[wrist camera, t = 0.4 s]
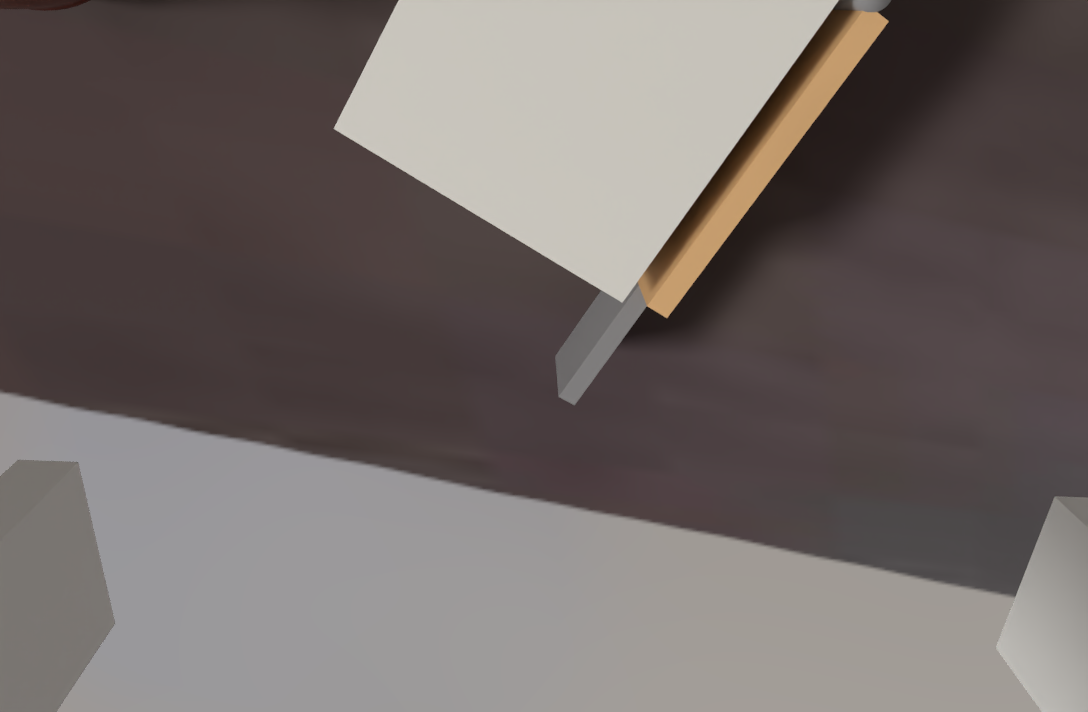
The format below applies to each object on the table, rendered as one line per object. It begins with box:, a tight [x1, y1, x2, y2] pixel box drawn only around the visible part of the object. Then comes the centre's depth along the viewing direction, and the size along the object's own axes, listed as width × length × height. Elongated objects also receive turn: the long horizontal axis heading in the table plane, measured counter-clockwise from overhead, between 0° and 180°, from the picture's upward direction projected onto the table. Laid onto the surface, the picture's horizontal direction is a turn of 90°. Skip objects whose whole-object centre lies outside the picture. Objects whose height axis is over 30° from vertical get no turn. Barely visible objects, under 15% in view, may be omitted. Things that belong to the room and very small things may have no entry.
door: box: [555, 0, 891, 405], centre depth 27 cm, size 1×16×8 cm, turn 148°
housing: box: [334, 0, 839, 303], centre depth 24 cm, size 10×12×9 cm
